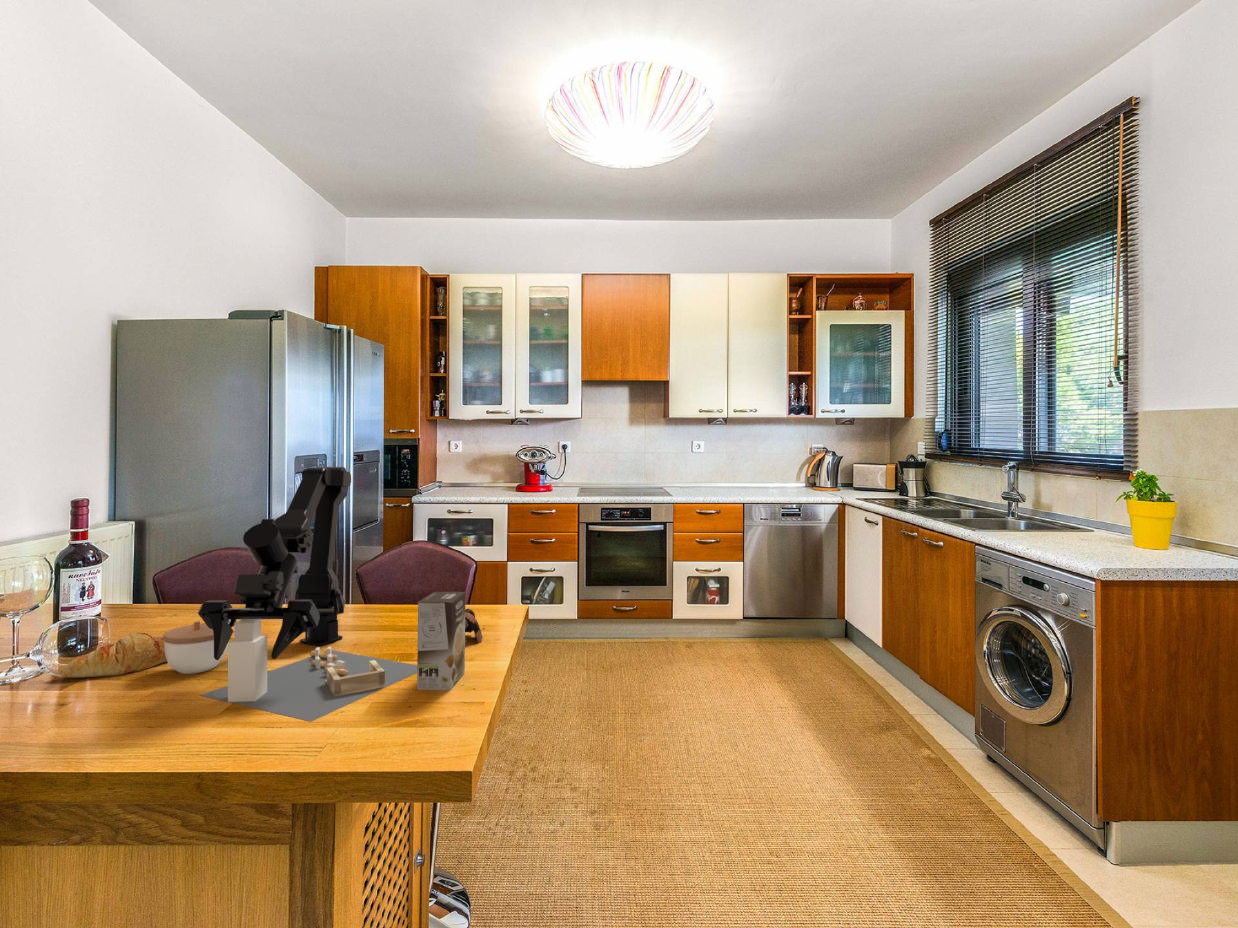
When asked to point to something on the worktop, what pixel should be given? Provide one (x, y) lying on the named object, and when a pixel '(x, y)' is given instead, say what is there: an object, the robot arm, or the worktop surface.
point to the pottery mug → (472, 624)
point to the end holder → (356, 680)
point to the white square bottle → (247, 662)
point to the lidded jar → (191, 648)
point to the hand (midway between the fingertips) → (244, 658)
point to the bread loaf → (118, 657)
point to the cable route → (328, 661)
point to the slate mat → (315, 686)
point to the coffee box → (441, 640)
